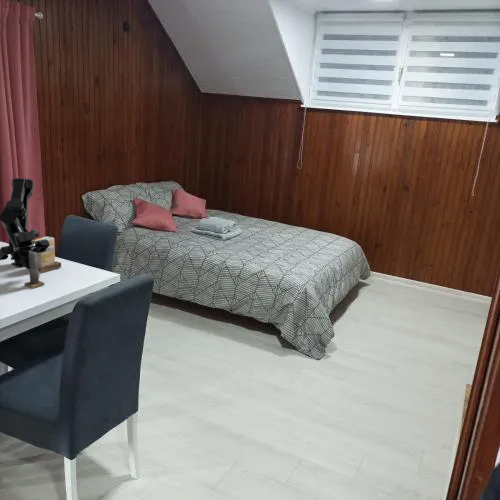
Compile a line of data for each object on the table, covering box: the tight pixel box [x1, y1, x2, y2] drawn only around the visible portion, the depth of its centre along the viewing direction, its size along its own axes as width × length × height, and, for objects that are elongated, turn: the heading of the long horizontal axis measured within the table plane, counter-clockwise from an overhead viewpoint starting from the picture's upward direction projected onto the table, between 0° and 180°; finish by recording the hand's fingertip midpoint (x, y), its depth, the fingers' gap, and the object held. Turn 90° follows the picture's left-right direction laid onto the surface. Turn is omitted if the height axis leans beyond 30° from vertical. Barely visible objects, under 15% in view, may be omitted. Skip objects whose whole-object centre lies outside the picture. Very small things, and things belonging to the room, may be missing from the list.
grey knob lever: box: [24, 252, 62, 289], centre depth 190 cm, size 16×22×13 cm
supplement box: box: [32, 236, 56, 267], centre depth 200 cm, size 8×5×13 cm, turn 162°
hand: (33, 267), depth 180 cm, fingers closed on grey knob lever, 3 cm apart
